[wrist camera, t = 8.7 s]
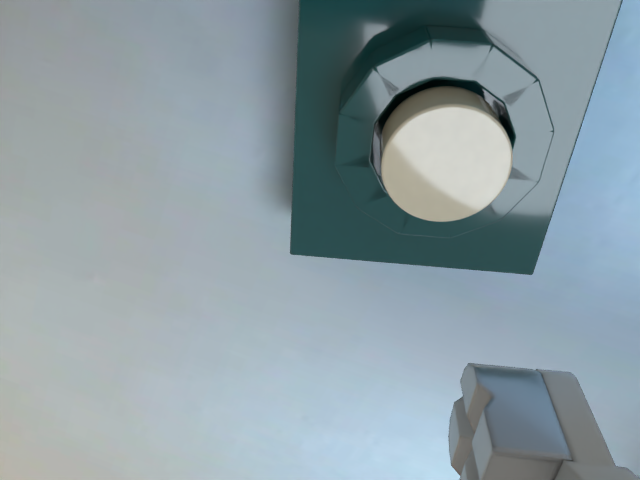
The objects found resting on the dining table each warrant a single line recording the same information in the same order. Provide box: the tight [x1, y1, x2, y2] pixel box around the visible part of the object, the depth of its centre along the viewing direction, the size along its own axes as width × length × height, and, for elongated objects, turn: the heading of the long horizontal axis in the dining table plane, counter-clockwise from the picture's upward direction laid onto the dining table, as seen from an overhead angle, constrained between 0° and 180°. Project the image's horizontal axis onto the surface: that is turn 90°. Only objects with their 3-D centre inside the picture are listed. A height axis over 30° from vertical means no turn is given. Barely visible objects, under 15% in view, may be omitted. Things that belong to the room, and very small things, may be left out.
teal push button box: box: [290, 0, 623, 275], centre depth 21 cm, size 12×10×5 cm
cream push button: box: [380, 86, 513, 222], centre depth 18 cm, size 4×4×2 cm
